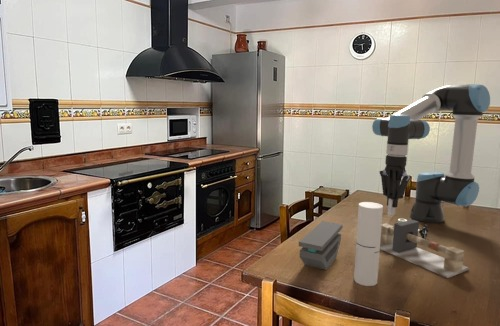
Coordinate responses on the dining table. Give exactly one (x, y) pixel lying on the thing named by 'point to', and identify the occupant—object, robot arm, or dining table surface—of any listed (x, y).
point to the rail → (426, 253)
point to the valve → (422, 231)
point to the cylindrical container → (368, 243)
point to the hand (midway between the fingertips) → (391, 214)
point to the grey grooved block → (321, 245)
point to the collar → (404, 235)
